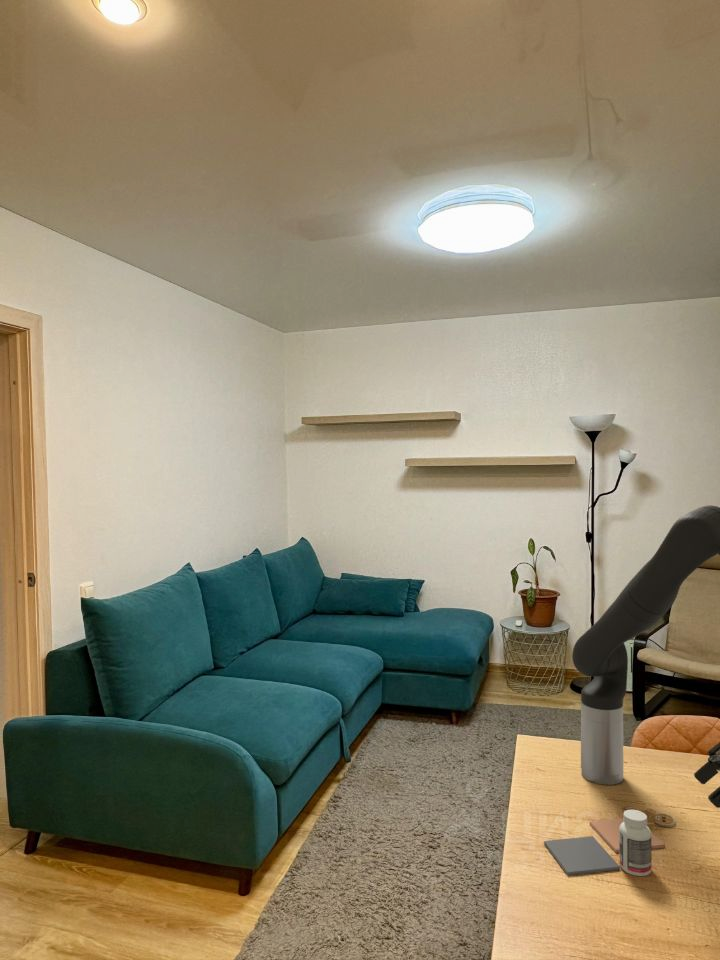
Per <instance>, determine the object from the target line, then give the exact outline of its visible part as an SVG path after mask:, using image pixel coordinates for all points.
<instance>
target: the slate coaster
mask: <svg viewBox="0 0 720 960" xmlns="http://www.w3.org/2000/svg"><path fill="white" fill-rule="evenodd" d="M543 845H544V846H545V848H546V849H547V850H548V851H549V853H550V854H551V855H552V856H553V858H554V859H555V860H556V863H558V865H559V866H560V867H561V869H562V870H563V871H564V872H565V874H566V875H567V876H575V875H576V876H577V875H585V874H593V873H602V872H611V871H618V870H619V871H620V870H621V866H620V864H618V863H617V862H616V860H615V859H614V858H613V857H612V856H611V855H610V854H609V853H608V851H606V850H607V849H605V848H604V847H603V846H602V845H601V844H600V843H599V841H598V840H597V839H596V838H595V837H594V836H593V835H589V836H579V837H572V838H559V839H551V840H544V841H543Z"/></svg>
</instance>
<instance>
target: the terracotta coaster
mask: <svg viewBox="0 0 720 960" xmlns="http://www.w3.org/2000/svg"><path fill="white" fill-rule="evenodd" d="M623 822H624V821H623V817H622V818H614V819H613V818H612V819H603V820H602V819H601V820H592V821H589V825H590V826H591V827H592V828H593V829H594V831H595V832H596V833H597V835H599V836H600V837H601V838H602V840H603V841H604V842H605V843H606V844H607V845H608V846H609V847H610V848H611V849H612V851H613V852H614V853H616V854H617V853H618V854H619V851H620V850H619V827H620V825H621V823H623ZM662 848H666V847H665V843H664V842H663V841H662V840H661V839H660V838H659V837H657V835H655V834H654V833H653V832H652V831H651V850H656V849H662Z"/></svg>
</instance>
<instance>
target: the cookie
mask: <svg viewBox="0 0 720 960" xmlns="http://www.w3.org/2000/svg"><path fill="white" fill-rule="evenodd" d="M622 809H623V812H625V811H626V810H637V808H634V807H632V806H624V807H623V808H622ZM642 812H643V813H644V814H646V816H647V827H648V828H649V829H650V830H656V829H657V827H656V826H658V827H660V828H664V829H665V828H666V829H672V828H675V827H676V825H677V820H676V819H675V818H674V817H673V816H671V815H669V813H668V814H667V813H664V812H656V810H655V809H653V808H645V809H644V810H643V811H642Z"/></svg>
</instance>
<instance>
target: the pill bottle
mask: <svg viewBox="0 0 720 960" xmlns="http://www.w3.org/2000/svg"><path fill="white" fill-rule="evenodd" d="M622 818H623V821H624V822H623V823H621V825H620V827H619V850H620V851H619V852H618V854H619V866H620V869H622V870H623V872H625V873H628V874H629V875H632V876H637V877H646V876H648V875H650V874H651V872H652V863H653V862H652V849H651V832H652V831H651V829H649V828H648V827H647V816H646V814H644V813H643V811H640V810H638V809H636V810H626V811H623V817H622Z"/></svg>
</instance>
